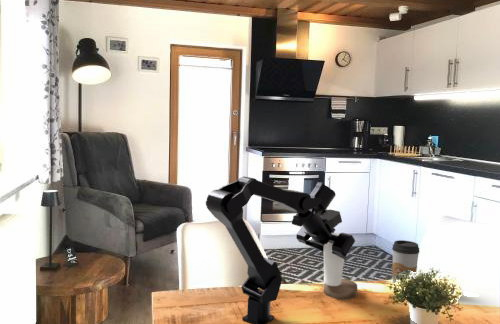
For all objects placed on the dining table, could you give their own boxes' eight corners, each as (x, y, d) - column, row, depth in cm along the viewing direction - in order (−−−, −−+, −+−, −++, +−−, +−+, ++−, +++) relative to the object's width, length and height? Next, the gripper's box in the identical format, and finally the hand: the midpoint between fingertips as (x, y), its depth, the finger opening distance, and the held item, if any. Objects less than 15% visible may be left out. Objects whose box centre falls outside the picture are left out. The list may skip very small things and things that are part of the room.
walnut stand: (349, 302, 134) (350, 292, 134) (318, 294, 140) (319, 284, 140) (361, 292, 143) (361, 282, 142) (331, 284, 148) (332, 275, 148)
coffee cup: (384, 287, 147) (387, 242, 146) (398, 282, 153) (401, 238, 152) (408, 295, 141) (411, 248, 140) (421, 289, 147) (424, 244, 145)
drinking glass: (347, 287, 136) (350, 238, 135) (325, 288, 135) (329, 238, 133) (338, 279, 143) (341, 232, 141) (317, 280, 141) (320, 232, 140)
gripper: (353, 207, 126) (374, 241, 134) (304, 197, 141) (326, 227, 149) (332, 239, 122) (356, 271, 130) (284, 225, 137) (308, 255, 144)
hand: (336, 254), depth 138 cm, fingers closed on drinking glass, 7 cm apart
